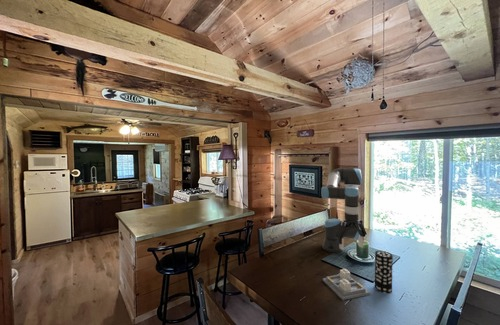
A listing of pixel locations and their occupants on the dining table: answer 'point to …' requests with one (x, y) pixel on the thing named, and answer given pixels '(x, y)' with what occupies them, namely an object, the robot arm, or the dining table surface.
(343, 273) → the tab
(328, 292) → the dining table surface
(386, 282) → the spotted tube
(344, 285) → the tab
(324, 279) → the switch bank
